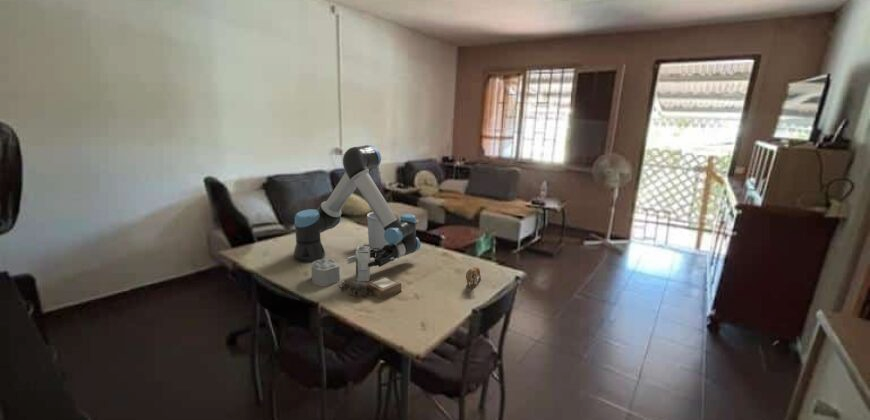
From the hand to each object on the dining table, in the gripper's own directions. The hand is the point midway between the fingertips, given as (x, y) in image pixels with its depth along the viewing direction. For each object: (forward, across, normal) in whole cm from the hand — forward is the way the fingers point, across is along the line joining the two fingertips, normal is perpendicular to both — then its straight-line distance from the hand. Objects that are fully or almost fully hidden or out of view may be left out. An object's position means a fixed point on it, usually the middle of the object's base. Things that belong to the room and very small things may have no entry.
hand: (354, 263), depth 164 cm
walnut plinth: (-3, -16, -8) cm, 18 cm away
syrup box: (-5, 0, -9) cm, 10 cm away
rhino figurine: (+7, -9, -9) cm, 15 cm away
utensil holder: (-41, +30, -9) cm, 51 cm away
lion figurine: (-34, -38, -9) cm, 52 cm away
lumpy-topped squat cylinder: (+7, +12, -9) cm, 16 cm away
